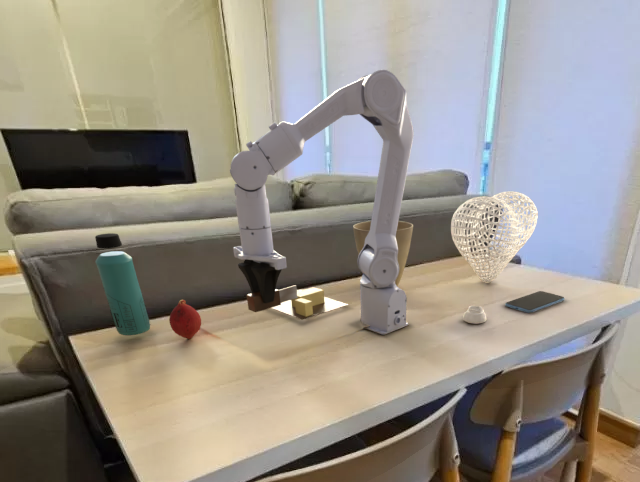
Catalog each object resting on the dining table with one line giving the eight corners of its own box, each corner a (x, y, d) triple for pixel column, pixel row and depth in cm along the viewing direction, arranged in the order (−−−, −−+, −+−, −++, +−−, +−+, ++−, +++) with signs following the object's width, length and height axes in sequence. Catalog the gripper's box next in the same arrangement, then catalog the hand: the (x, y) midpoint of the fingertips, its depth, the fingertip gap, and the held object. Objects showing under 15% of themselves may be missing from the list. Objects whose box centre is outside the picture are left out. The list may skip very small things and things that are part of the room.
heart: (486, 268, 140) (496, 187, 128) (535, 276, 131) (551, 191, 120) (435, 288, 122) (441, 197, 110) (488, 300, 113) (500, 202, 101)
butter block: (324, 302, 109) (323, 290, 108) (301, 309, 105) (300, 296, 103) (314, 299, 111) (314, 287, 110) (291, 306, 107) (290, 293, 105)
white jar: (470, 315, 104) (458, 321, 101) (472, 302, 102) (459, 308, 99) (490, 320, 101) (478, 326, 98) (492, 307, 99) (479, 313, 96)
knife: (255, 312, 88) (253, 297, 87) (248, 309, 90) (246, 294, 88) (300, 298, 95) (299, 284, 94) (293, 296, 97) (292, 282, 95)
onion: (194, 345, 90) (186, 305, 86) (168, 343, 91) (158, 304, 87) (209, 334, 95) (202, 296, 91) (184, 332, 96) (175, 294, 92)
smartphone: (503, 302, 108) (539, 290, 117) (503, 306, 109) (539, 293, 117) (530, 310, 103) (566, 296, 112) (530, 314, 104) (566, 300, 112)
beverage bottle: (160, 332, 96) (134, 231, 86) (136, 344, 90) (106, 238, 80) (135, 329, 98) (107, 229, 87) (110, 340, 92) (77, 236, 82)
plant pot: (375, 278, 131) (375, 218, 123) (421, 286, 123) (424, 223, 115) (342, 291, 120) (340, 226, 112) (390, 301, 113) (391, 232, 105)
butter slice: (313, 314, 102) (312, 301, 100) (306, 316, 101) (304, 303, 99) (302, 310, 104) (301, 297, 103) (295, 313, 103) (294, 299, 101)
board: (349, 308, 108) (348, 304, 108) (302, 324, 100) (301, 319, 99) (301, 293, 119) (300, 289, 119) (255, 305, 111) (254, 301, 110)
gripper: (214, 225, 85) (226, 296, 92) (259, 235, 77) (268, 313, 83) (247, 220, 90) (256, 289, 97) (293, 229, 81) (299, 304, 88)
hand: (264, 300), depth 90 cm, fingers closed on knife, 2 cm apart
